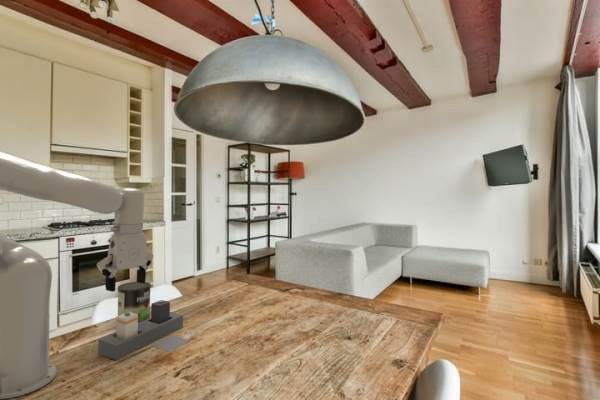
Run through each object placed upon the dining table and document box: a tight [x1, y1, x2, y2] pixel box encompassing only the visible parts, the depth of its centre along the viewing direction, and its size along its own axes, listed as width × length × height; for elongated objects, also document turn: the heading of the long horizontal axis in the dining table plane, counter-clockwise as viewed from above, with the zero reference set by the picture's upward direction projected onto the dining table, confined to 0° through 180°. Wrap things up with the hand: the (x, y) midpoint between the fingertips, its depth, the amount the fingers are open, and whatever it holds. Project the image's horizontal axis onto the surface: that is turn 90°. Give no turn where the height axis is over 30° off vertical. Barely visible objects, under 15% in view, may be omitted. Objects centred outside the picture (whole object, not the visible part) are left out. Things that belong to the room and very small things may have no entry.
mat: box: [151, 334, 191, 353], centre depth 94 cm, size 8×8×1 cm
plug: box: [115, 312, 138, 340], centre depth 91 cm, size 4×4×9 cm
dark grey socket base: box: [97, 311, 184, 361], centre depth 96 cm, size 24×8×4 cm, turn 156°
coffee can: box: [117, 281, 152, 323], centre depth 107 cm, size 10×10×14 cm
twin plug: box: [150, 299, 171, 324], centre depth 102 cm, size 4×4×9 cm
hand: (126, 286), depth 90 cm, fingers open, 9 cm apart
